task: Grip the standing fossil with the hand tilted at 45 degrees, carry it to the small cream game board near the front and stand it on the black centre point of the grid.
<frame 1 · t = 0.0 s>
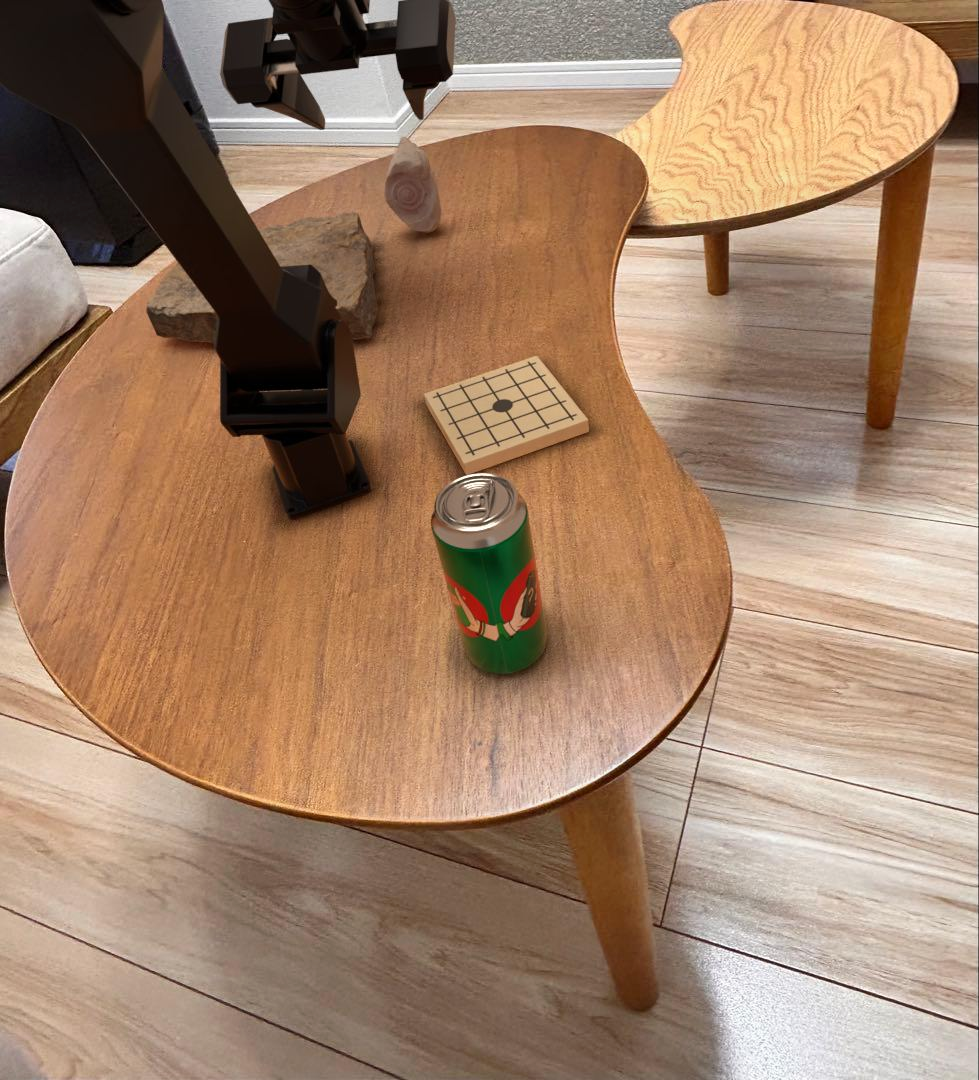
hand: (371, 120, 77), 15 cm above the table, tool tilted 35°, fingers open, 9 cm apart
soda can: (506, 647, 52), on the table
stone: (288, 300, 87), on the table
fossil: (423, 235, 93), on the table
board: (504, 418, 68), on the table
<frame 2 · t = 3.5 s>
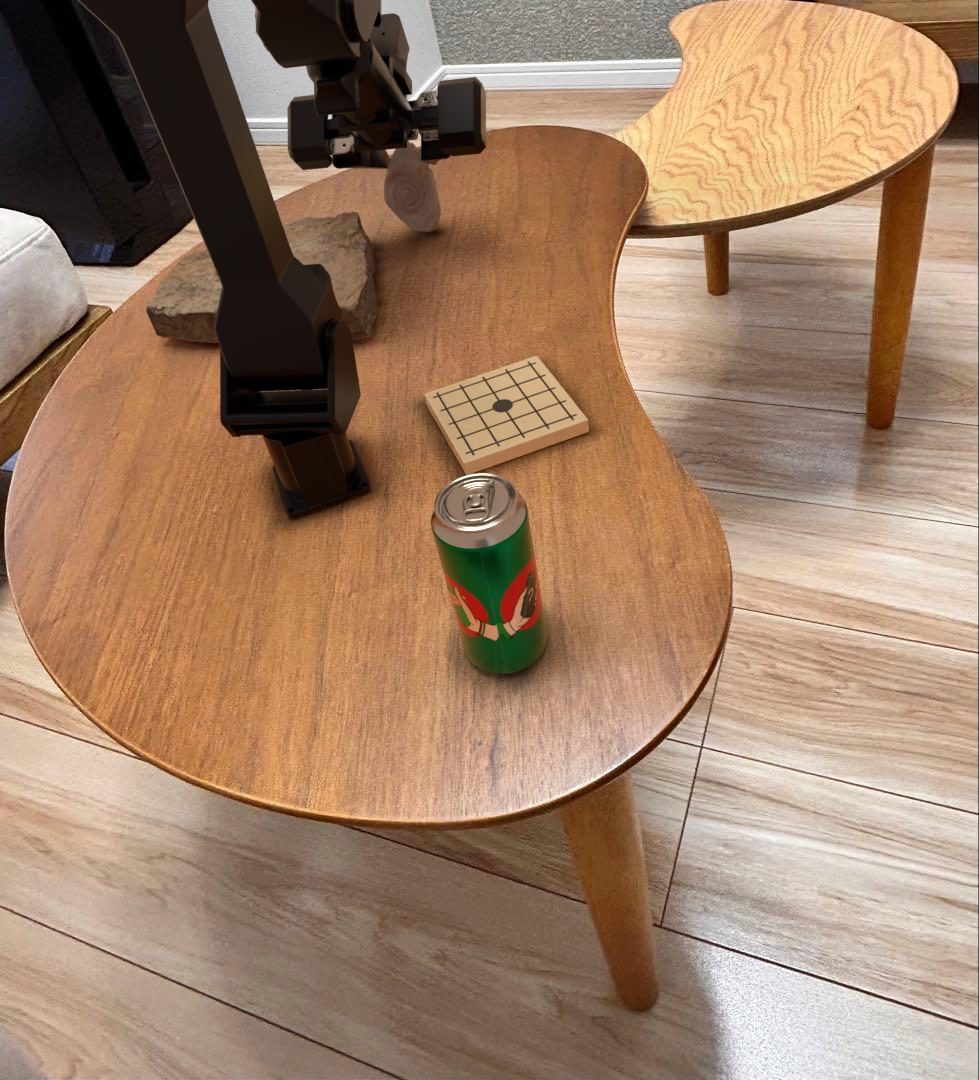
hand: (411, 161, 89), 7 cm above the table, tool tilted 45°, fingers closed on fossil, 4 cm apart
fossil: (423, 235, 93), on the table, touching gripper
everything else where it was.
when the fingers open (8 cm above the table, at t = 12.3 s): fossil stays where it is, resting on board.
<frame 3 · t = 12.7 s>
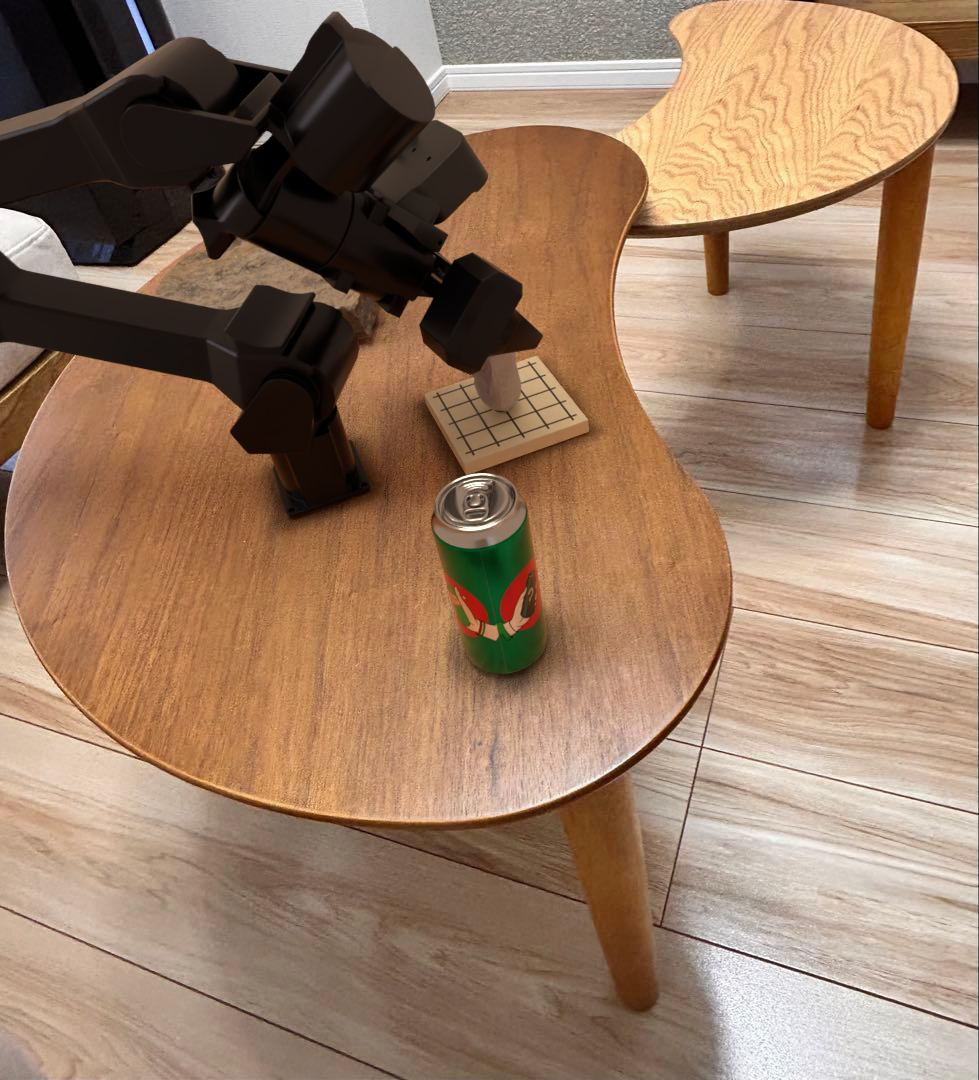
hand: (505, 316, 63), 8 cm above the table, tool tilted 45°, fingers open, 8 cm apart
fossil: (500, 407, 67), point 1 cm above the table, touching board
everything else where it was.
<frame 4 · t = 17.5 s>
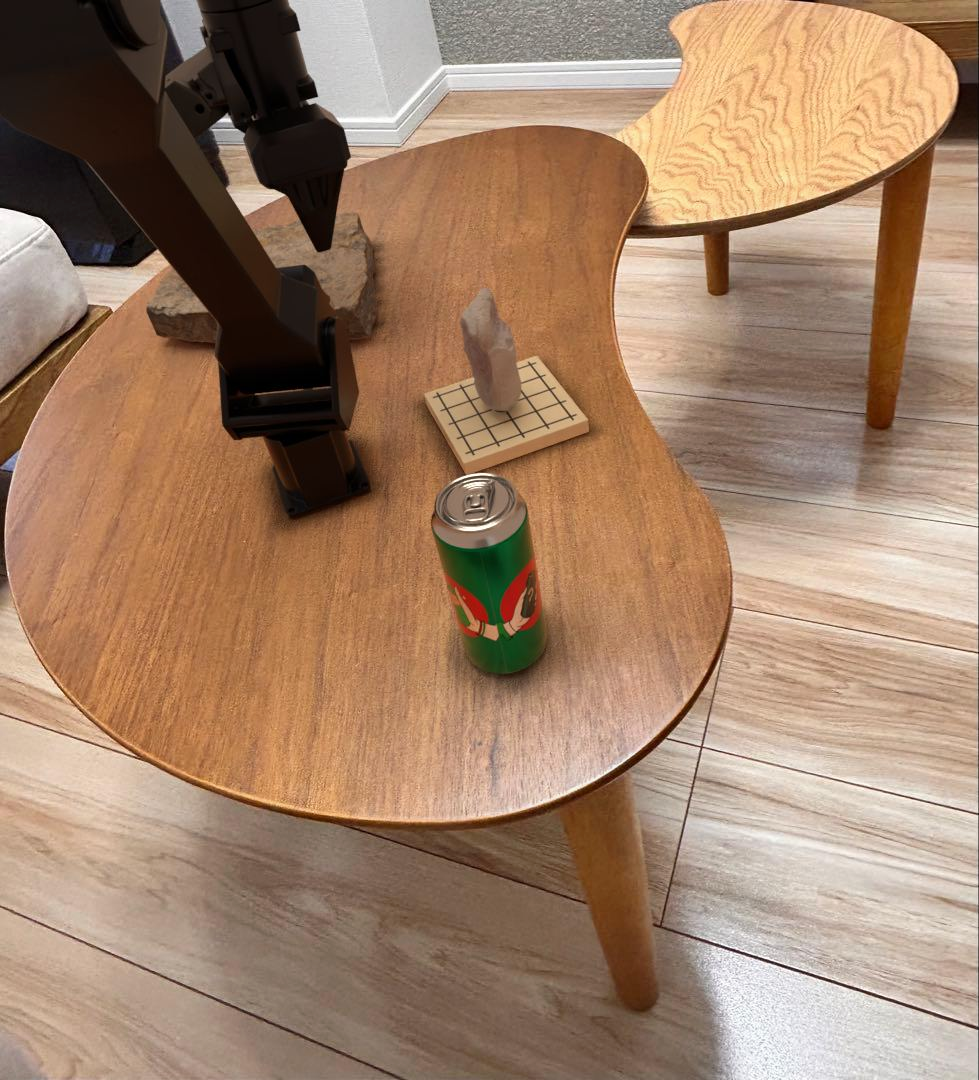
hand: (311, 226, 67), 13 cm above the table, tool pointing down, fingers open, 9 cm apart
nothing on the table moved.
at the end: fossil 0.2 cm off-centre on the board, point 1.0 cm above the board's base; fossil tilted 0°; the gripper is holding nothing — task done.
